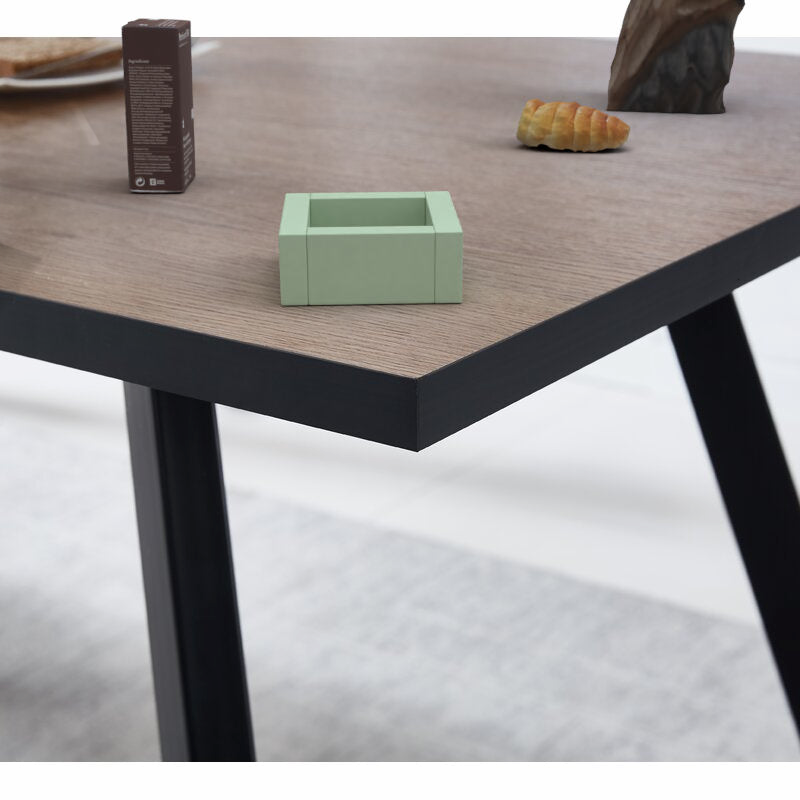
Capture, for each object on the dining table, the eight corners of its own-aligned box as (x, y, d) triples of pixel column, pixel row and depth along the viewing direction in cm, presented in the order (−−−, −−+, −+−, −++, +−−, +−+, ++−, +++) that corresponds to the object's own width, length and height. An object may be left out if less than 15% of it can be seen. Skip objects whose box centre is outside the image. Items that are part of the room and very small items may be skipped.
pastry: (635, 143, 114) (638, 99, 113) (618, 158, 109) (620, 111, 107) (532, 136, 118) (534, 93, 116) (510, 150, 112) (511, 105, 111)
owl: (638, 92, 141) (651, -106, 134) (755, 100, 136) (775, -105, 129) (600, 110, 131) (611, -104, 124) (725, 119, 126) (745, -104, 118)
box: (189, 193, 97) (178, 25, 92) (128, 193, 97) (114, 25, 92) (201, 176, 102) (192, 17, 98) (144, 176, 102) (131, 17, 98)
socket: (280, 306, 71) (278, 234, 70) (287, 257, 80) (285, 193, 79) (462, 303, 71) (463, 231, 70) (448, 254, 81) (448, 191, 79)
